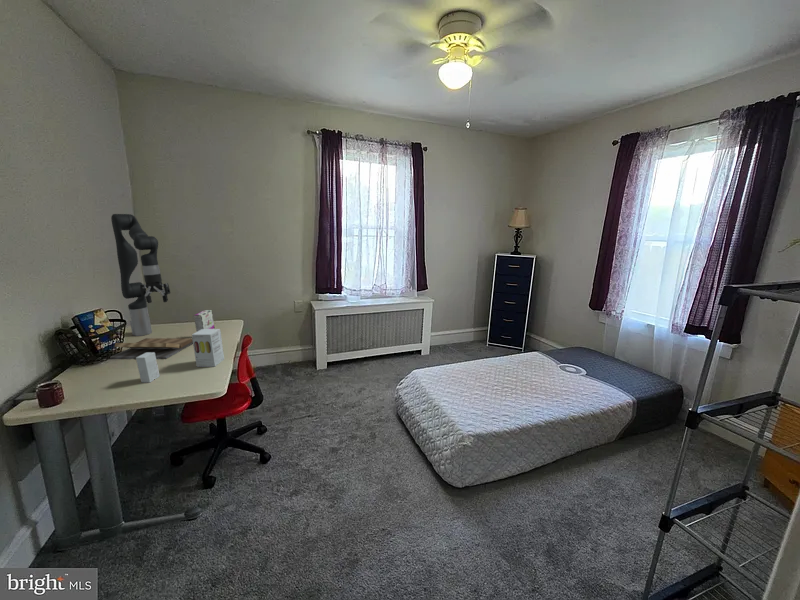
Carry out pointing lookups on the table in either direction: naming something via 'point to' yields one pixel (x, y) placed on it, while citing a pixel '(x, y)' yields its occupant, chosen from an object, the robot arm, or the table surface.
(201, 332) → the supplement box
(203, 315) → the candy bar box
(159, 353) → the floor section
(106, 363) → the table surface
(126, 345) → the oak plank
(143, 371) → the skincare box
